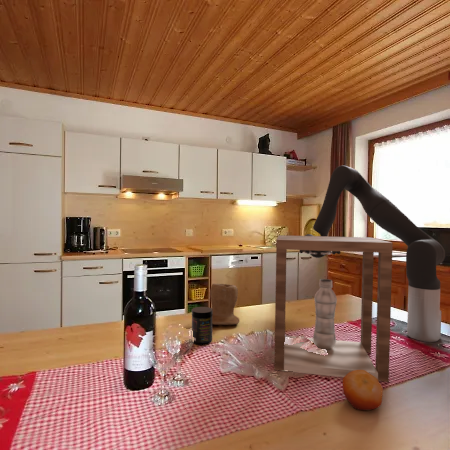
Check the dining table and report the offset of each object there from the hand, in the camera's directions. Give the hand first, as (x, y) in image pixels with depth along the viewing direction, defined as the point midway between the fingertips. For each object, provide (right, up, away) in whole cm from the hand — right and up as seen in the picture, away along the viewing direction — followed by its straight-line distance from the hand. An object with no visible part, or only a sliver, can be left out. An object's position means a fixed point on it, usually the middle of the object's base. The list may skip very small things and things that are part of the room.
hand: (321, 251), depth 111 cm
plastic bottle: (-4, -27, -16) cm, 32 cm away
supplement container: (-41, -29, -8) cm, 50 cm away
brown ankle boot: (-35, -28, +11) cm, 47 cm away
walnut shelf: (-5, -29, -19) cm, 35 cm away
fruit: (-4, -30, -41) cm, 51 cm away
